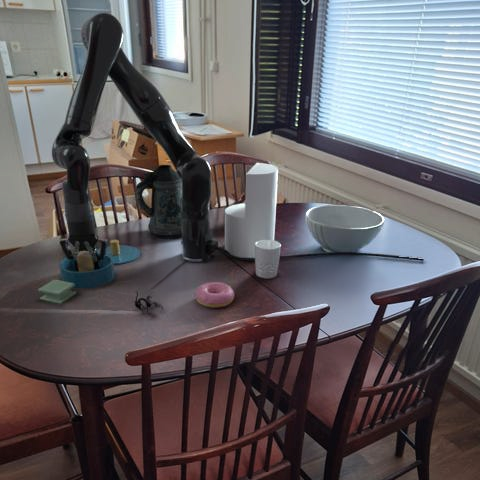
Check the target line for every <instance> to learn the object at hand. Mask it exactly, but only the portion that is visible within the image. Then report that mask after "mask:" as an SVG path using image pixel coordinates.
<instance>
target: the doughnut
mask: <svg viewBox="0 0 480 480" xmlns="http://www.w3.org/2000/svg"><path fill="white" fill-rule="evenodd" d="M194 296H195V300H196V301H197V302H198V304H199V305H201V306H203V307H206V308H209V309H219V308H224V307H226V306H228V305H230V304H231V303H232V302H233V301H234V299H235V298H234V297H235V291H234V289H233V287H231V286H230V285H229V284H226V283H224V282H214V281H212V282H206V283H203V284H201V285H200V286H198V287H197V288H196V290H195V292H194Z"/></svg>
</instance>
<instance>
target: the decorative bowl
mask: <svg viewBox="0 0 480 480" xmlns="http://www.w3.org/2000/svg"><path fill="white" fill-rule="evenodd" d="M304 216H305V217H304V218H305V223H306V225H307V229H308V231H309V234H310V235H311V236H312V238H313V239H314V240H315V241H316V242H317V243H318V244H319V245H320V246H322V249H323V250H324V251H325V252H326V253H335V252H341V253H348V252H352V253H358V251H359V250H361V249H363V248H365V247H367V246H368V245H369V244H370V243H372V241H374V239H375V238H376V237H377V236H378V235H379V233H380V232H381V230H382V228H383V226H384V223H385V218H384V216H383V215H382V214H380V213H378V212H377V211H375V210H371V209H369V208H365V207H360V206H356V205H346V204H326V205H325V204H324V205H318V206H315V207H312V208H309V209H307V211H305V214H304Z"/></svg>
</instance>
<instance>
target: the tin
mask: <svg viewBox="0 0 480 480" xmlns="http://www.w3.org/2000/svg"><path fill="white" fill-rule="evenodd" d="M98 254H99V255H100V253H98ZM100 266H101V268H100V269H98V270H94V271H87V272H78V271H76V267H75V262H74V260H71V259H70V260H69V259H67V257H64V258H63V259H62V260H61V261H60V262H59V270H60V277H61V281H65V282H70V283H74V284H75V286H74V287H72V288H73V289H81V290H83V289H85V290H86V289H93V288H94V289H95V288H98V287H102V286H104V285H106V284H109V283H111V281H113V280H114V279H115V276H116V275H115V267H114V266H115V265H113V259H112V258H111V257H110V256H109V255H105V257H104V259H103V260H100ZM72 288H71V289H72Z"/></svg>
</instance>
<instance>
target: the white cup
mask: <svg viewBox="0 0 480 480" xmlns="http://www.w3.org/2000/svg"><path fill="white" fill-rule="evenodd" d="M281 247H282V244H281V242H279V241H277V240H275V239H274V240H260V241H257V242H256V243H255V261H254V264H255V265H254V266H255V275H256V276H257V277H259V278H262V279H273V278H276V277H277V276H278V270H279V269H278V268H279V265H280V259H279V257H280V256H281Z"/></svg>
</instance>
